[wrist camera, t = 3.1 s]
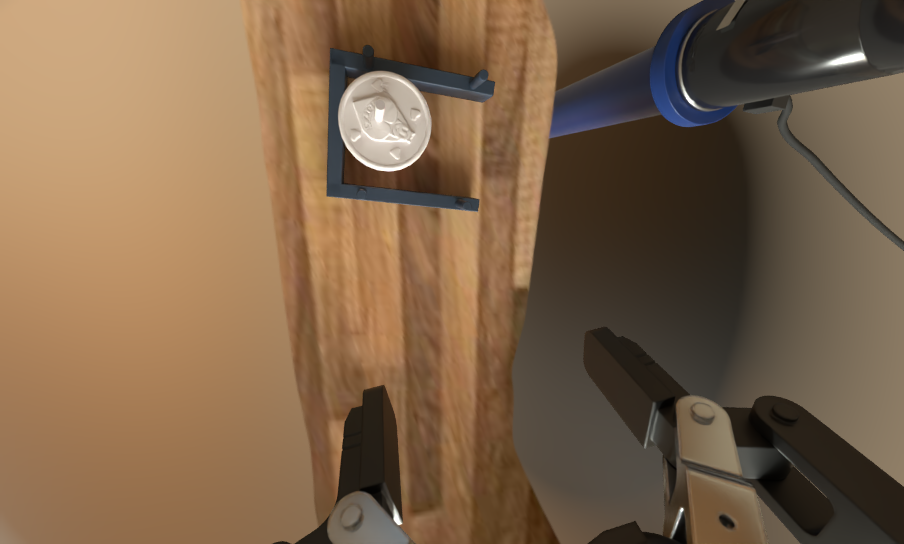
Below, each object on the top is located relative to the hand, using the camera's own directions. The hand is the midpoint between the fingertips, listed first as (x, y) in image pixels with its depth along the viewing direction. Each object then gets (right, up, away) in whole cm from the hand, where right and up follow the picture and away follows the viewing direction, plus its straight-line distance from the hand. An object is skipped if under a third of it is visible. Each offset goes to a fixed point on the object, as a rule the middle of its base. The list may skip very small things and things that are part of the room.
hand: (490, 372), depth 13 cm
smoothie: (-8, +17, +19) cm, 27 cm away
